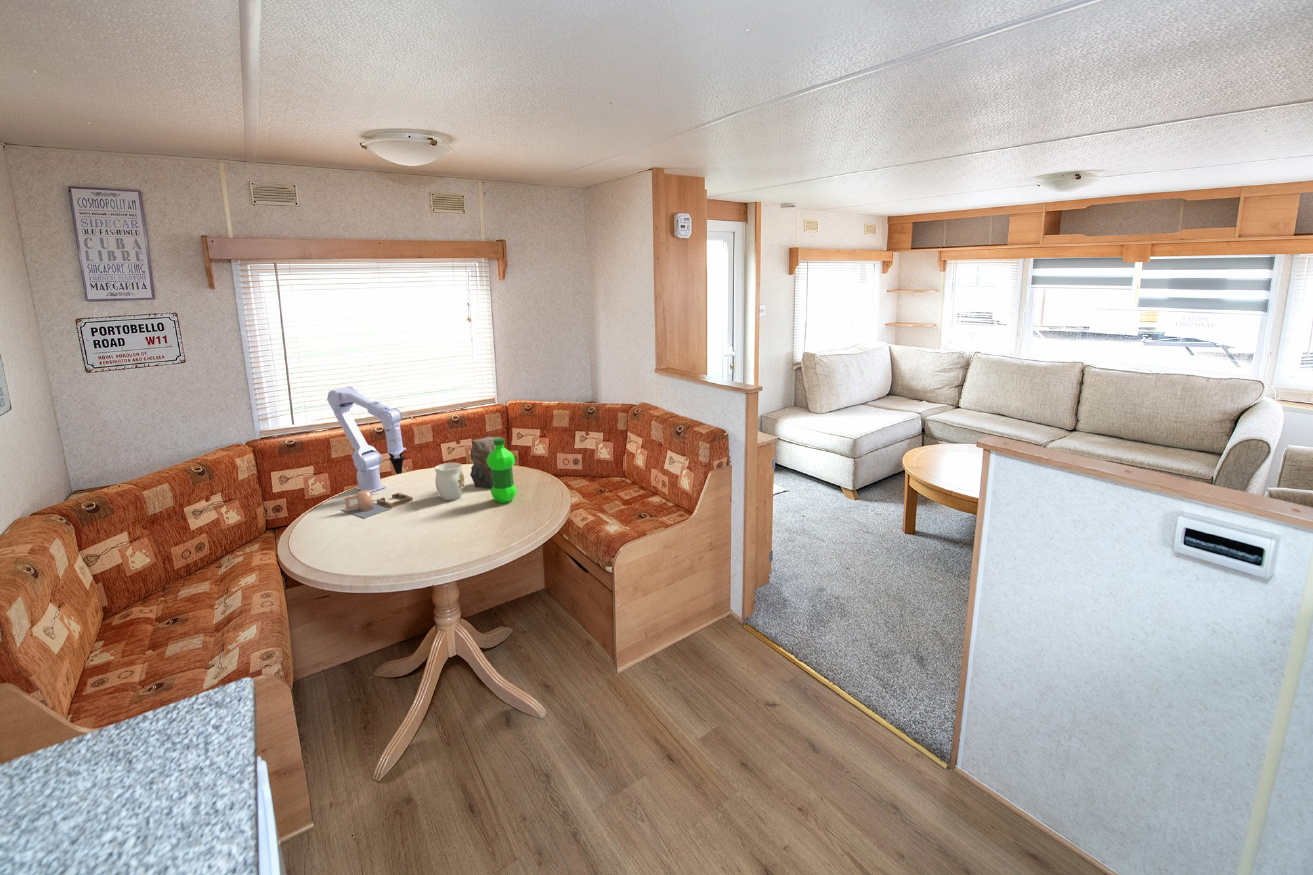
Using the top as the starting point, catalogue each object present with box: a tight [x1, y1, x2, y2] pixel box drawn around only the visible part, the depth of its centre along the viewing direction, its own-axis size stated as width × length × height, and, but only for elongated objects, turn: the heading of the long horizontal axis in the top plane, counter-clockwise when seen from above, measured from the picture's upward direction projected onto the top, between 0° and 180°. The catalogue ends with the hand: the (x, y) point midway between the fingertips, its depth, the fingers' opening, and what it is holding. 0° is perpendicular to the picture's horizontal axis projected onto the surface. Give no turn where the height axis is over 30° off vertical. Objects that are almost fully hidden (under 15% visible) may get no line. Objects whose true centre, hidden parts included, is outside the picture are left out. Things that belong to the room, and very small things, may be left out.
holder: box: [376, 492, 414, 509], centre depth 244 cm, size 10×10×2 cm
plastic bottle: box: [487, 437, 518, 504], centre depth 239 cm, size 10×10×25 cm
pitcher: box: [434, 462, 466, 501], centre depth 246 cm, size 11×18×14 cm, turn 6°
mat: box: [341, 502, 391, 519], centre depth 236 cm, size 16×11×1 cm
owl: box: [469, 435, 503, 490], centre depth 260 cm, size 13×13×20 cm
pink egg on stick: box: [344, 490, 374, 512], centre depth 235 cm, size 9×5×7 cm, turn 115°
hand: (398, 470), depth 252 cm, fingers open, 7 cm apart
